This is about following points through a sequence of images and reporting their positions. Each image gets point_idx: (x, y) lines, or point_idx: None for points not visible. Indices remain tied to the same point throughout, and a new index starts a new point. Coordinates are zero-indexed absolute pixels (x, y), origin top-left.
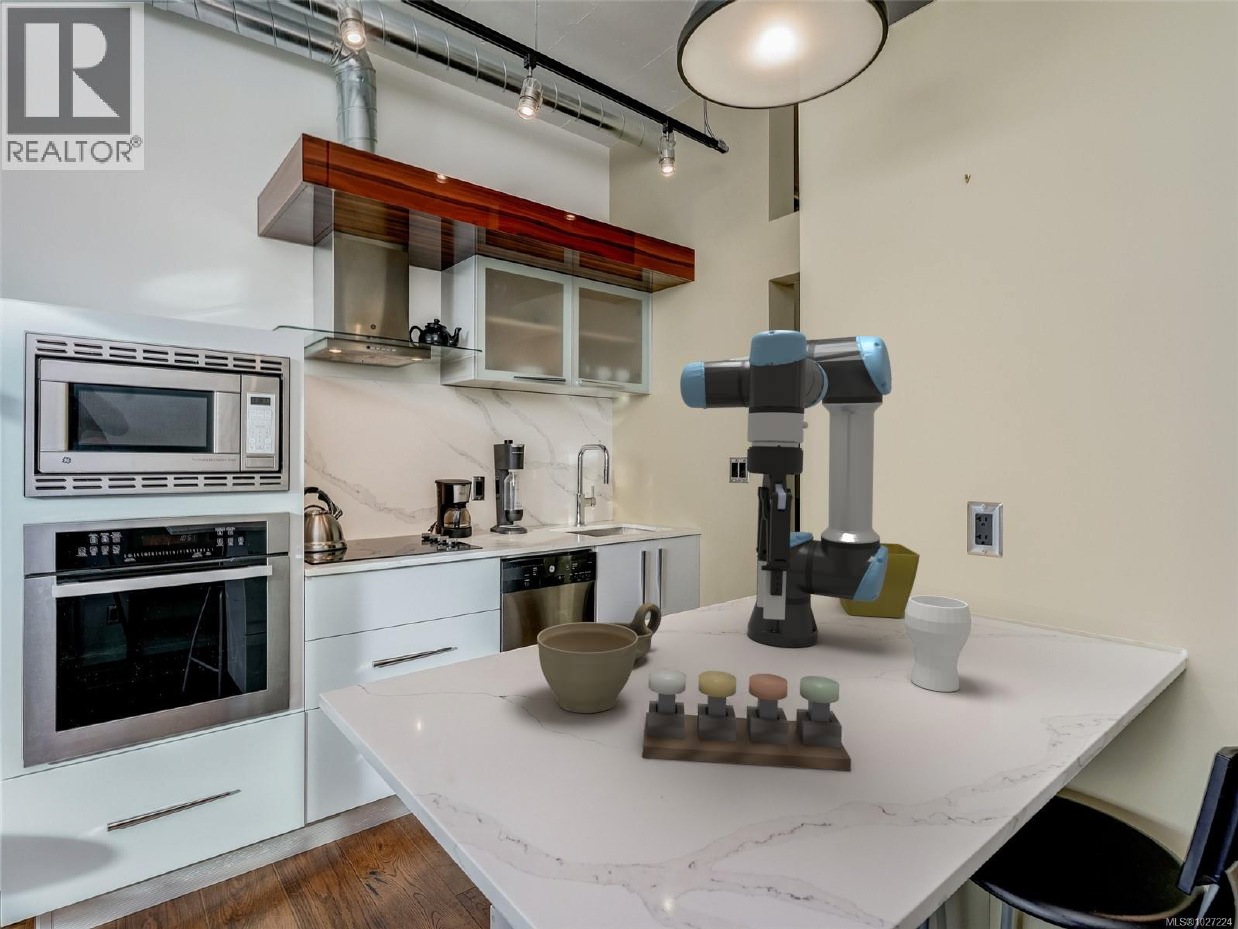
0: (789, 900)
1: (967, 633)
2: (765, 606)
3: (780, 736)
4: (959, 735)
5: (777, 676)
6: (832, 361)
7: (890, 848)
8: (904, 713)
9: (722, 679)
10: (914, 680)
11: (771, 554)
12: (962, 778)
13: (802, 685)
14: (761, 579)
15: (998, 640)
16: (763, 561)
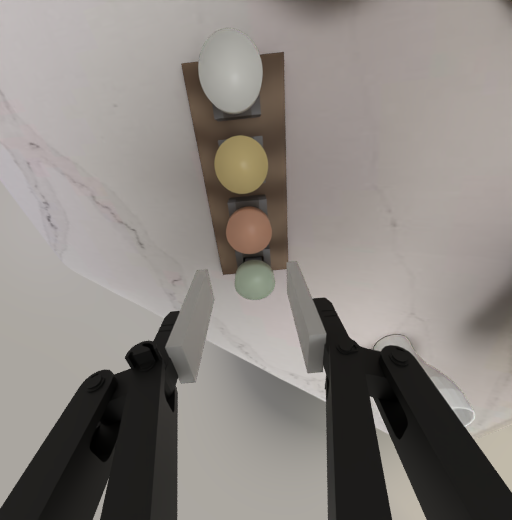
0: (43, 215)
1: None
2: (191, 285)
3: None
4: (297, 339)
5: (264, 244)
6: None
7: (132, 276)
8: None
9: (235, 174)
10: (393, 337)
11: (56, 423)
12: (234, 327)
13: (246, 267)
14: (297, 304)
15: (480, 399)
16: (317, 345)
